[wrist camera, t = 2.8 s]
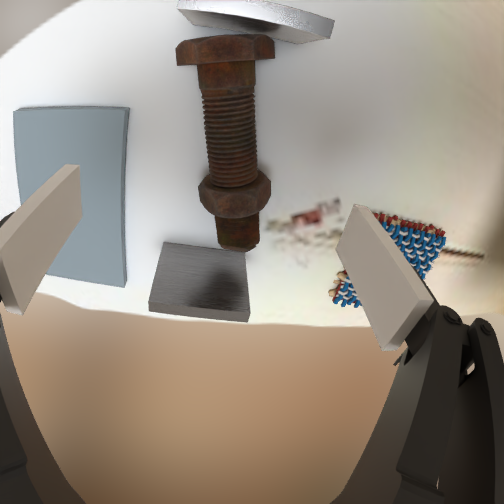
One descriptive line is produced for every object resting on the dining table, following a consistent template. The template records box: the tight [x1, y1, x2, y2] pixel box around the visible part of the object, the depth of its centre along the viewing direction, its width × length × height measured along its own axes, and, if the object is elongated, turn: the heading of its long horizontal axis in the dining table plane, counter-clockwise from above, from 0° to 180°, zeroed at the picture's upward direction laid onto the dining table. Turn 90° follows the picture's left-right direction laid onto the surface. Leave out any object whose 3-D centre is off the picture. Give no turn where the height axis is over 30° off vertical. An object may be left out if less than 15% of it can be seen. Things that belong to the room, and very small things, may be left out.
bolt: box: [176, 34, 275, 252], centre depth 19 cm, size 6×5×15 cm
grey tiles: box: [148, 0, 335, 322], centre depth 18 cm, size 7×19×7 cm, turn 168°
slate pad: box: [13, 106, 129, 288], centre depth 21 cm, size 10×16×1 cm, turn 168°
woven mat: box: [329, 213, 446, 308], centre depth 28 cm, size 10×11×2 cm
